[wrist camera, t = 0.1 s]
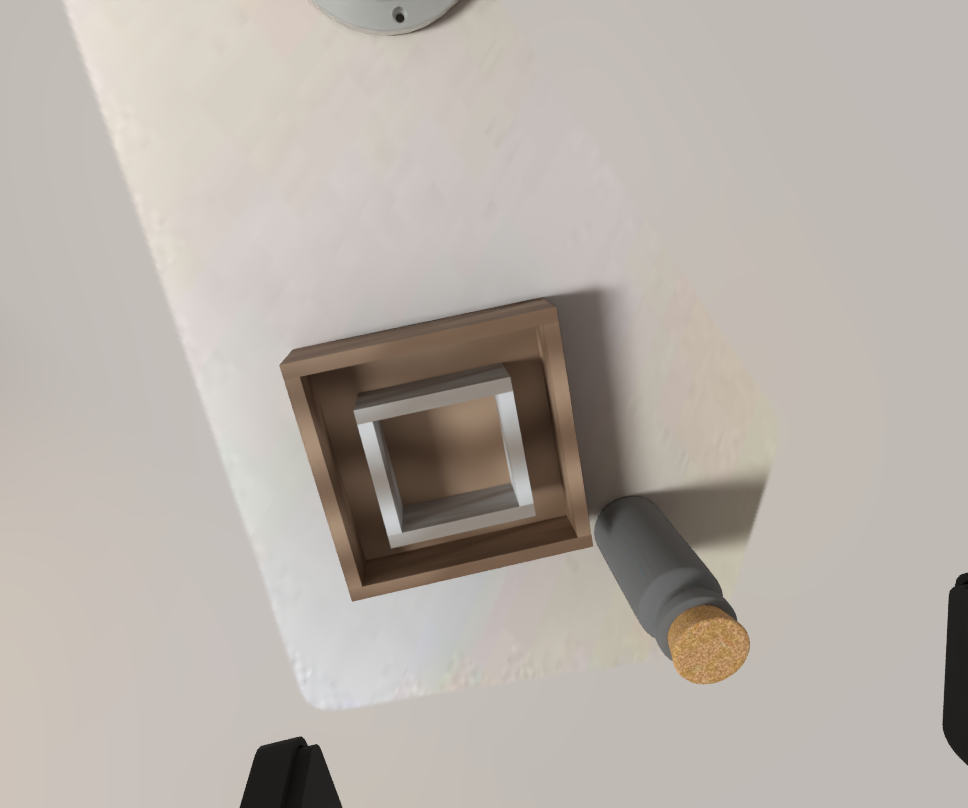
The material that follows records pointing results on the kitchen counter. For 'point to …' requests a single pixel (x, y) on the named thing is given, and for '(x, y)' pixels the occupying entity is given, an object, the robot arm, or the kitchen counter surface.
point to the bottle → (671, 591)
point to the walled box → (442, 446)
